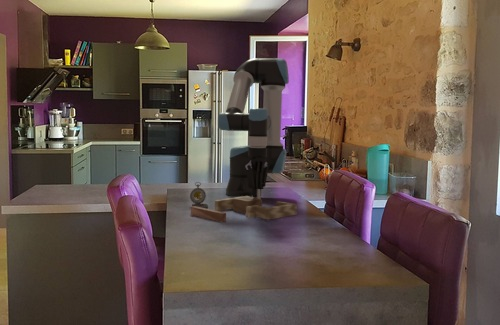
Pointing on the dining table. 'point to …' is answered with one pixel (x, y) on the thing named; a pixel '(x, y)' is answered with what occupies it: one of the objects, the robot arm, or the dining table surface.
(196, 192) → the pocket watch
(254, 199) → the block
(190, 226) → the dining table surface
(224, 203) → the brown wooden pieces
